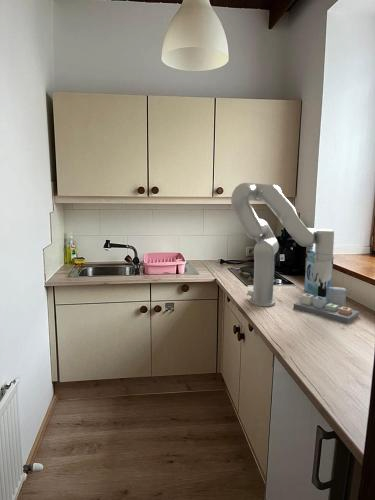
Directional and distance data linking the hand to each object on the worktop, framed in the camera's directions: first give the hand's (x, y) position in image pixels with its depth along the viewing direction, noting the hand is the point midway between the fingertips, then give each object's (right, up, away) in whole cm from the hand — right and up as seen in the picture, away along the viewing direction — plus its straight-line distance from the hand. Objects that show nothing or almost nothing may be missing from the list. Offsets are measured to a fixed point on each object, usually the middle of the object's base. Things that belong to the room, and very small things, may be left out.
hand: (321, 296), depth 157 cm
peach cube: (+7, -8, -7) cm, 13 cm away
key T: (-1, -5, +1) cm, 5 cm away
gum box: (+7, -3, +25) cm, 26 cm away
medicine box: (+10, -6, +10) cm, 15 cm away
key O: (-5, -4, +5) cm, 8 cm away
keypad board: (+1, -8, 0) cm, 8 cm away
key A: (+3, -8, -2) cm, 9 cm away
